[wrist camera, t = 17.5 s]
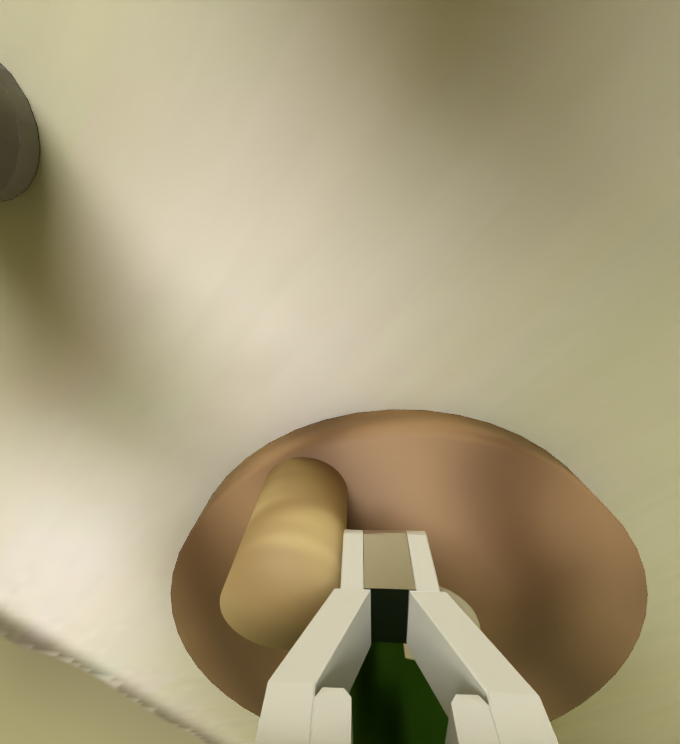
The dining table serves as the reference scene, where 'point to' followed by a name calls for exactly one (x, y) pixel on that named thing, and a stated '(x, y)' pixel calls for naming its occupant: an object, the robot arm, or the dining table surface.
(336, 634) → the robot arm
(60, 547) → the dining table surface
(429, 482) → the lazy susan
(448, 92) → the dining table surface
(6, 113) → the beverage cup
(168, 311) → the dining table surface
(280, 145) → the dining table surface
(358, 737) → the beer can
